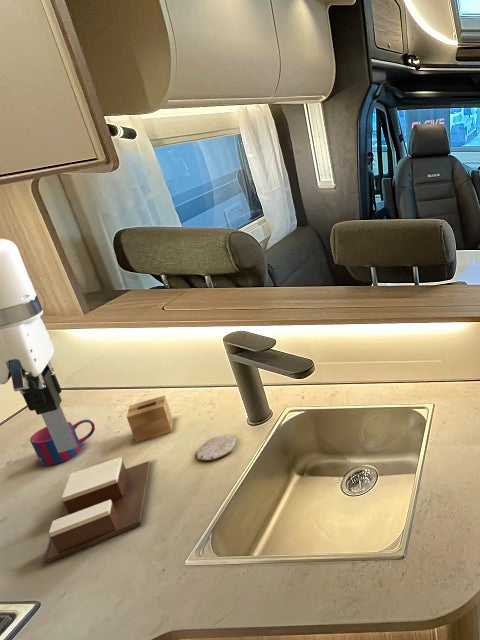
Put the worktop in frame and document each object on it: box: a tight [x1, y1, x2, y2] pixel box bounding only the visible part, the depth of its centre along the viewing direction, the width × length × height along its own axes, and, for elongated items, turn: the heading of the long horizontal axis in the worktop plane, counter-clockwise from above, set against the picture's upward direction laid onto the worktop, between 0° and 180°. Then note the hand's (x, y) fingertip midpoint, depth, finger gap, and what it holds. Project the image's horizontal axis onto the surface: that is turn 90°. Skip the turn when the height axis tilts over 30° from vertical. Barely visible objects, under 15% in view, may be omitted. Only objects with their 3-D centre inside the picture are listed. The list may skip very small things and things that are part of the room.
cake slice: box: [48, 500, 118, 552], centre depth 78 cm, size 8×3×5 cm, turn 125°
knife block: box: [126, 395, 174, 444], centre depth 104 cm, size 7×5×8 cm
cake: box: [61, 456, 128, 515], centre depth 87 cm, size 8×7×5 cm
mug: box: [29, 418, 96, 467], centre depth 98 cm, size 7×10×7 cm
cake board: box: [45, 460, 151, 564], centre depth 85 cm, size 13×18×1 cm
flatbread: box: [196, 435, 237, 461], centre depth 100 cm, size 8×8×1 cm
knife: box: [27, 370, 78, 453], centre depth 76 cm, size 3×3×17 cm
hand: (46, 400), depth 75 cm, fingers closed on knife, 3 cm apart
